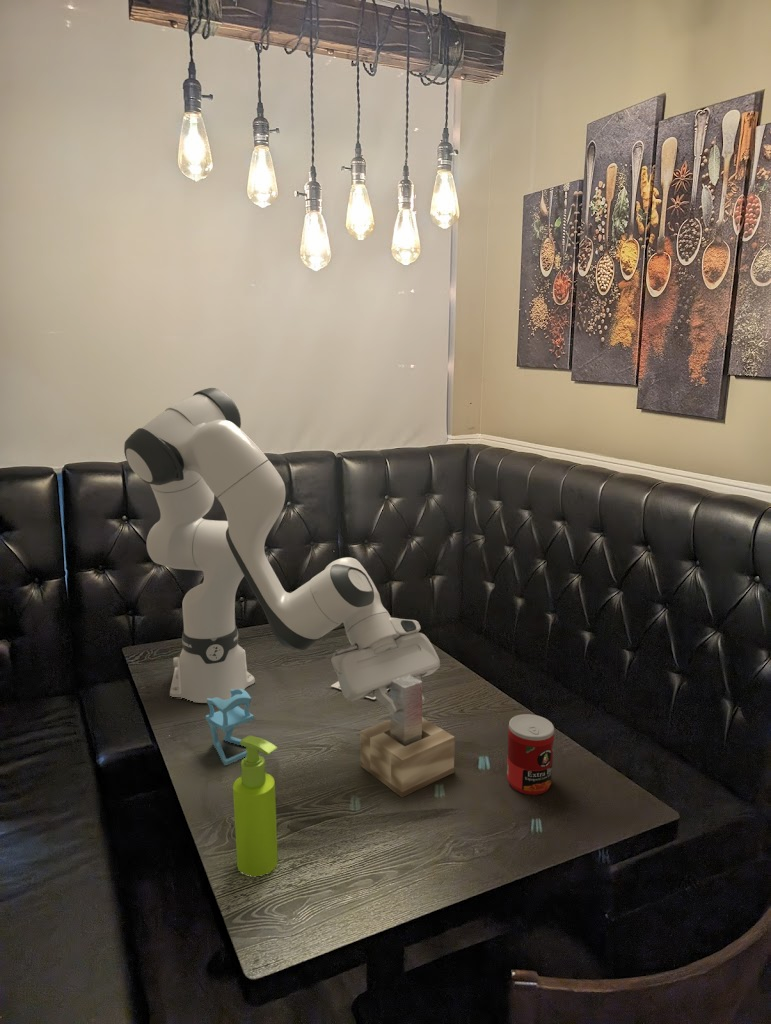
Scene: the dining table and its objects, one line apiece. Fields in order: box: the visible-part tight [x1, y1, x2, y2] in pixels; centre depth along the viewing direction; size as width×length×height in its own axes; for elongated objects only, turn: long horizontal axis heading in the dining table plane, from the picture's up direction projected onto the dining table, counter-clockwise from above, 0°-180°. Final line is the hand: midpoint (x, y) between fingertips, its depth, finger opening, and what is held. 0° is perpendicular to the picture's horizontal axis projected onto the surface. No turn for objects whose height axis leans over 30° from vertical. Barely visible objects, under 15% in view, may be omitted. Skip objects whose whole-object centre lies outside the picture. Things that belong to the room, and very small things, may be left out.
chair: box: [205, 689, 255, 766], centre depth 132 cm, size 8×8×12 cm
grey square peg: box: [389, 675, 423, 746], centre depth 124 cm, size 4×4×12 cm
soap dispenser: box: [232, 734, 279, 876], centre depth 101 cm, size 6×7×20 cm
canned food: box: [506, 713, 555, 796], centre depth 121 cm, size 8×8×11 cm
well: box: [359, 717, 456, 798], centre depth 126 cm, size 12×12×7 cm
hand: (408, 707), depth 123 cm, fingers closed on grey square peg, 4 cm apart
